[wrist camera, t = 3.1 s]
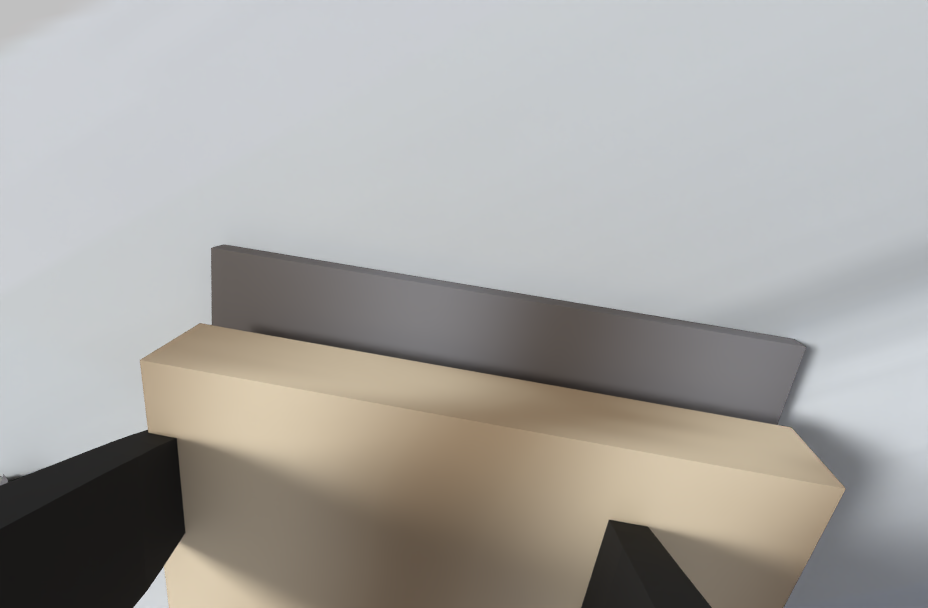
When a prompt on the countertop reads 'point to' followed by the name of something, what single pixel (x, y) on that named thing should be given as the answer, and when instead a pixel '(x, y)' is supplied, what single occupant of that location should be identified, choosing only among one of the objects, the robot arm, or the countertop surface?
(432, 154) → the countertop surface
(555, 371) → the floor row
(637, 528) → the robot arm
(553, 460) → the plank
